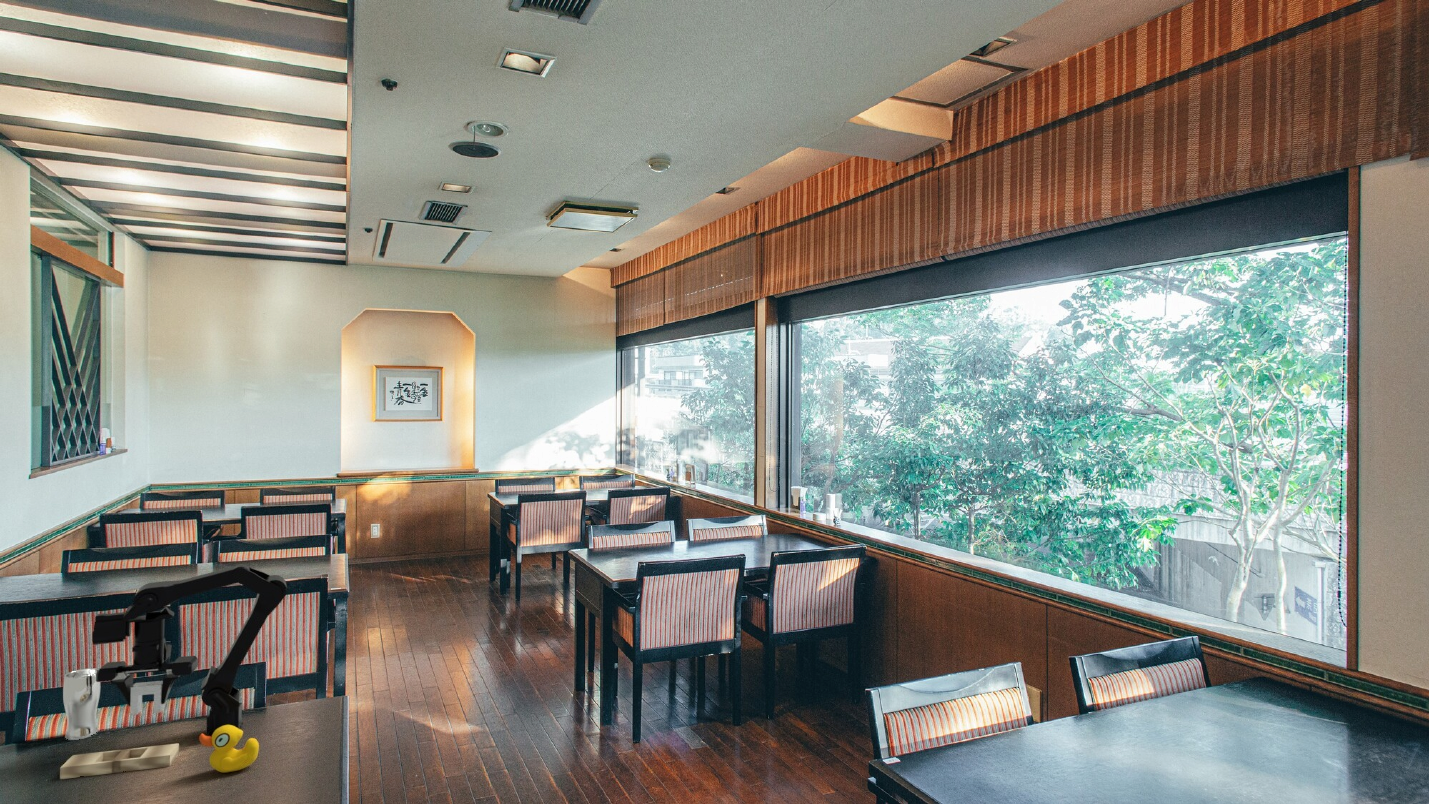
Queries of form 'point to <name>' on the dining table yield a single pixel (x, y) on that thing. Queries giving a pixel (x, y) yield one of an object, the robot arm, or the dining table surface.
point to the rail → (119, 761)
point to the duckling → (230, 749)
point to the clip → (146, 689)
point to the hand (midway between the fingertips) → (147, 704)
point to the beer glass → (81, 703)
